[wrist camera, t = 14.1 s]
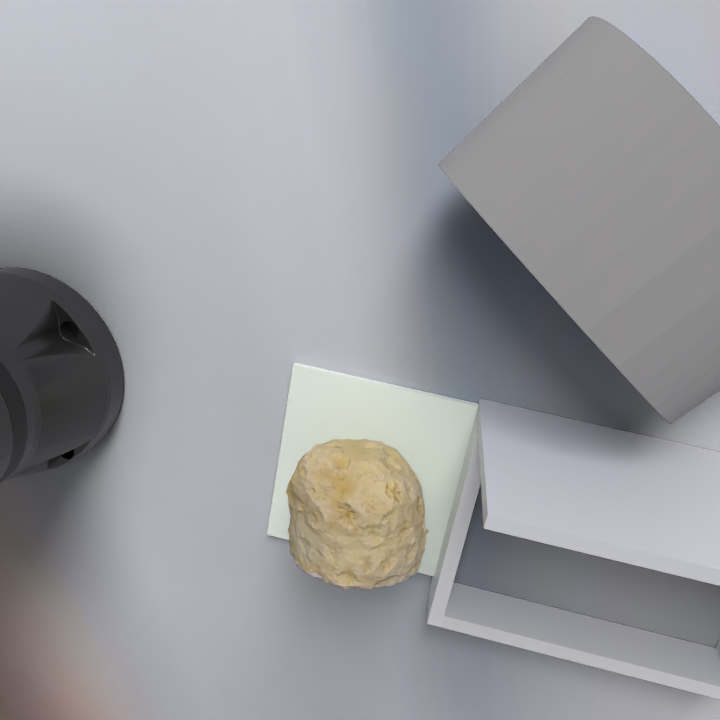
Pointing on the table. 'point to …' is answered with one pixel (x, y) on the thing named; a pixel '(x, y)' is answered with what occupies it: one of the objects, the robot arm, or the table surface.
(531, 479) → the case
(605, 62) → the sign
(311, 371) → the mat
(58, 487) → the table surface
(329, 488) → the coral
